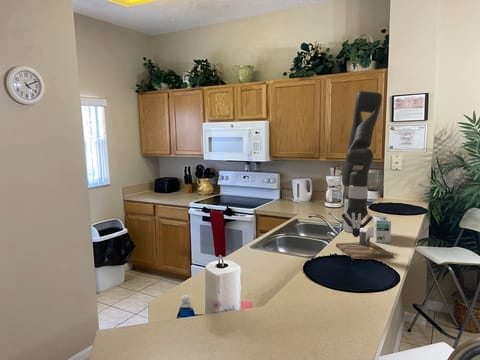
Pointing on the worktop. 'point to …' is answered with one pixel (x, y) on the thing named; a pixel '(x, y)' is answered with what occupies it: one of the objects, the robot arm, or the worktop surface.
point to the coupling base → (363, 250)
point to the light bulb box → (381, 229)
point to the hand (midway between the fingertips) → (356, 236)
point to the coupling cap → (366, 234)
